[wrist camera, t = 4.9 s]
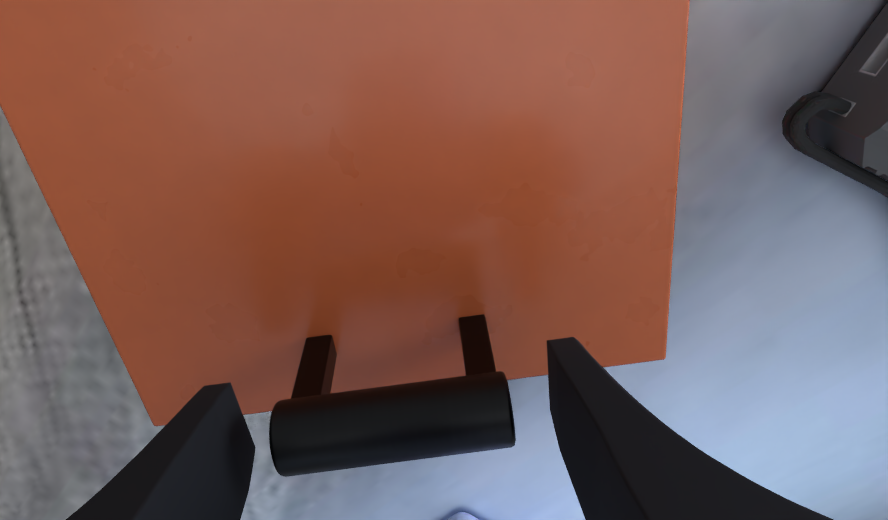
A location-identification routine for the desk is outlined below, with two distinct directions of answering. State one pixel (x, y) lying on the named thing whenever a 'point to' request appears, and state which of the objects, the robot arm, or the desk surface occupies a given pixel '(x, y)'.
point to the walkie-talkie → (849, 113)
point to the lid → (357, 200)
